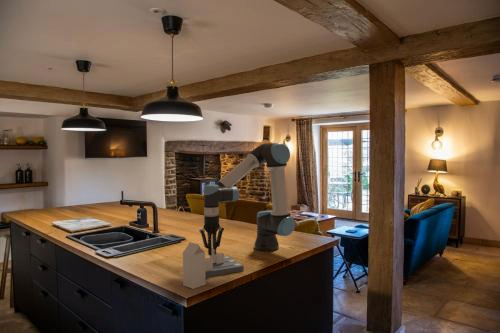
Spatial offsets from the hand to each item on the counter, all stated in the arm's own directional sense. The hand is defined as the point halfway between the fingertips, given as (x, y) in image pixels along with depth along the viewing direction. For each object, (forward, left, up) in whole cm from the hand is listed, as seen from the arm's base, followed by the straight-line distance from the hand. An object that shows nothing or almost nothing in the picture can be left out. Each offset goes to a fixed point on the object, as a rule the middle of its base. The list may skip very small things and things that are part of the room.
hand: (212, 261), depth 180 cm
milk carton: (+15, +17, -4) cm, 23 cm away
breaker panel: (-1, 0, -4) cm, 4 cm away
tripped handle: (-4, 0, -1) cm, 4 cm away
